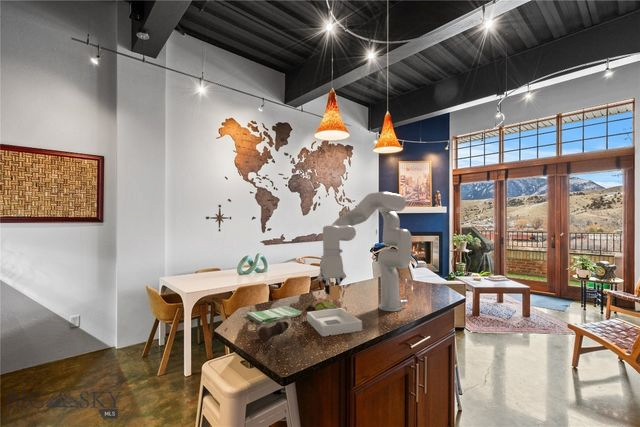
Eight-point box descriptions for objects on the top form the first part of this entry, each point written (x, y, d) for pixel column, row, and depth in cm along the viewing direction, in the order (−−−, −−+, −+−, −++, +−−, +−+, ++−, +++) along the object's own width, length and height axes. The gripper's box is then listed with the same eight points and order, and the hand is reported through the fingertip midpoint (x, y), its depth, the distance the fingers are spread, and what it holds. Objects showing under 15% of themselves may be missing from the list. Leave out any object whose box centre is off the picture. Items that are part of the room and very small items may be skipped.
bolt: (287, 333, 131) (264, 344, 118) (280, 326, 133) (256, 336, 120) (293, 322, 129) (269, 332, 117) (285, 315, 132) (261, 324, 119)
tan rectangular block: (335, 298, 136) (333, 281, 138) (340, 298, 131) (338, 281, 133) (327, 299, 135) (325, 282, 137) (331, 299, 130) (330, 282, 131)
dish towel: (303, 315, 151) (303, 310, 151) (261, 326, 136) (261, 320, 136) (284, 308, 165) (284, 303, 165) (245, 317, 150) (245, 311, 150)
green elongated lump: (323, 316, 143) (303, 296, 165) (325, 330, 145) (305, 308, 167) (345, 308, 148) (322, 290, 170) (346, 321, 150) (323, 301, 172)
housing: (341, 315, 147) (341, 307, 148) (362, 330, 127) (362, 321, 127) (307, 320, 142) (307, 312, 142) (322, 336, 121) (322, 326, 121)
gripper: (344, 251, 142) (345, 290, 141) (311, 252, 136) (312, 293, 135) (351, 252, 134) (352, 293, 134) (316, 254, 129) (317, 296, 128)
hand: (332, 292), depth 135 cm, fingers closed on tan rectangular block, 3 cm apart
